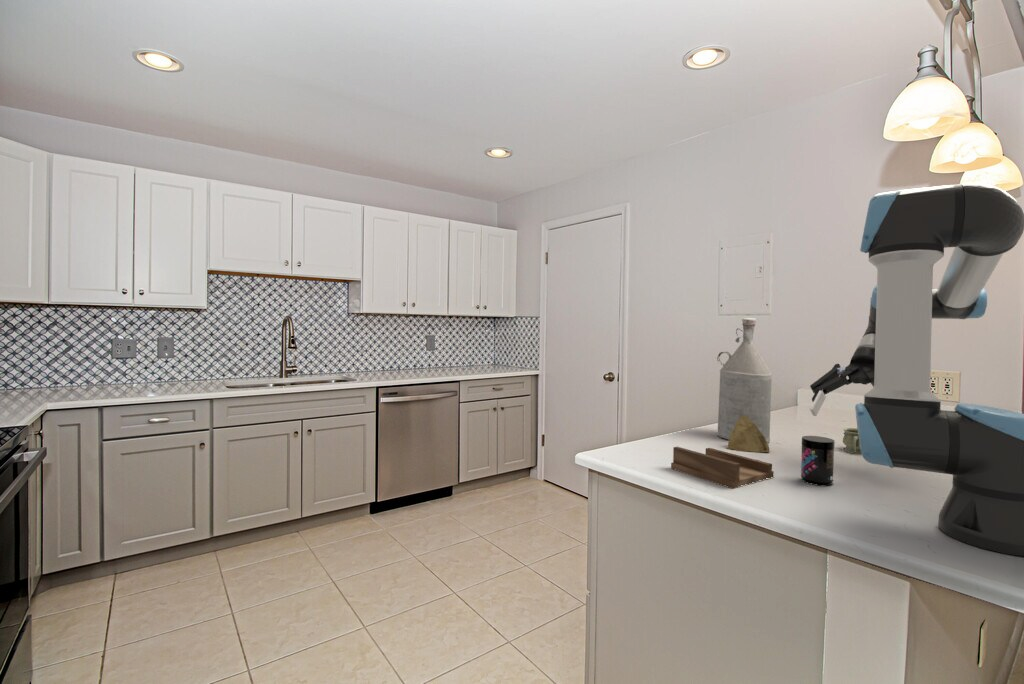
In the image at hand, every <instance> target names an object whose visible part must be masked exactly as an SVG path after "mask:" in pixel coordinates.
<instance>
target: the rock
mask: <svg viewBox="0 0 1024 684" xmlns="http://www.w3.org/2000/svg"><path fill="white" fill-rule="evenodd" d="M726 449H727V450H735V451H741V452H752V453H753V452H755V453H759V452H760V453H770V451H771V450H770V446H769V442H768V443H767V441H766V439H765V437H764V436H763V434H762V433H761V432H760V431H759V429H758V428H757V427H756V425H755V424H754V423H753V422H752V421H751V420H750V419H749V418H747V417H745V416H744V417H743V416H740V418H739V420H738V421H737V423H736V425H735V428H734V430H733V432H732V434H731V436H730V440H729V441H728V444H727V447H726Z"/></svg>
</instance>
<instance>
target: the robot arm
mask: <svg viewBox="0 0 1024 684" xmlns="http://www.w3.org/2000/svg"><path fill="white" fill-rule="evenodd" d="M865 218H866V219H865V222H864V226H863V234H862V238H861V244H860V248H859V251H860V252H861V253H864V254H868V262H869V263H870V264H872V265H873V266H874V267H875V268H876V269H877V271H876V272H877V273H876V274H877V275H876V277H877V278H876V285H875V286H874V288H873V290H872V294H871V297H870V301H869V302H870V306H869V307H870V308H869V315H868V322H867V323H868V324H867V327H866V329H865V331H864V334H863V336H862V337H861V339H860V341H859V342H858V345H857V347H856V348H855V351H854V352H853V355H852V356H851V358H850V362H849V364H848V365H847V366H841V365H840V364H839V363H835V364H834V366H833V367H831V369H830V370H829V371H828V372H826V373H825V374H824V375H822V376H821V377H820V378H818V379H817V380H816V381H814V382H813V383H811V384H810V385H809V388H810V389H811V390H812V392H813V396H812V397H811V402H812V404H811V405H810V408H809V411H810V412H811V415H812V416H814V417H817V415H818V414H819V413H820V412H819V411H820V410H821V408H822V406H823V404H824V402H825V401H826V398H827V397H826V395H827V394H829V393H832V392H833V391H835V390H837V389H839V388H841V387H844V386H845V385H846V386H848V385H850V384H861V385H868V384H870V385H872V388H871V389H870V390H869V391H867V392H866V393H865V394H864V397H863V398H864V399H863V401H864V402H860V403H856V405H855V407H854V408H855V419H856V426H857V427H856V428H857V429H858V436H859V443H860V449H861V454H862V455H861V454H860V455H861V456H862V458H863V459H864V460H865V461H866V462H867V463H870V464H872V465H879V466H884V467H889V468H891V469H894V468H898V469H908V470H913V471H921V472H922V471H923V472H929V473H936V474H944V475H952V485H951V489H950V492H949V494H948V496H947V498H946V499H945V501H944V503H943V506H942V507H941V509H940V511H939V514H938V518H937V519H938V523H937V524H938V525H937V527H938V528H939V529H940V531H942V532H943V533H944V534H946V535H948V536H949V537H951V538H953V539H956V540H958V541H959V542H963V543H965V544H969V545H972V546H975V547H978V548H980V549H984V550H985V549H986V550H989V551H992V552H996V553H997V552H998V553H1002V554H1006V555H1007V554H1008V555H1013V556H1020V557H1024V413H1022V412H1018V411H1013V410H1009V409H1008V410H1007V409H1003V408H999V407H998V408H997V407H993V406H987V405H982V404H981V405H979V404H976V403H975V404H974V403H964V402H963V403H956V406H954V408H953V409H954V411H953V410H944V409H941V399H940V398H939V397H937V395H935V394H934V393H933V392H932V390H931V371H932V370H931V368H932V367H931V366H932V365H931V364H932V363H931V362H932V361H931V359H932V323H933V321H932V319H935V320H937V319H938V320H939V319H941V320H942V319H945V320H946V319H949V320H952V319H954V320H966V319H979V318H982V317H983V316H984V315H985V314H986V309H987V306H988V293H987V291H986V289H985V288H984V287H985V286H986V284H987V282H988V281H989V279H990V277H991V276H992V274H993V272H994V271H995V269H996V267H997V265H998V263H999V262H1000V260H1001V259H1002V256H1003V254H1006V253H1007V252H1009V251H1011V250H1012V249H1014V247H1015V246H1016V245H1017V243H1019V240H1020V239H1021V237H1022V236H1023V233H1024V211H1023V209H1022V206H1021V205H1020V204H1019V201H1017V200H1016V199H1015V198H1014V197H1013V196H1012V195H1011V194H1009V193H1008V192H1007V191H1005V190H1004V189H1001V188H999V187H997V186H995V185H991V184H987V183H983V182H982V183H981V182H963V183H958V184H949V185H947V184H946V185H937V186H936V185H935V186H927V187H918V188H916V187H915V188H909V189H908V188H907V189H897V190H893V191H886V192H880V193H877V194H875V195H874V196H872V197H871V198H870V200H869V202H868V207H867V213H866V217H865ZM945 248H954V249H953V251H952V253H951V256H950V258H949V260H948V263H947V265H946V268H945V270H944V273H943V275H942V278H941V280H940V282H939V285H938V287H936V288H935V287H934V288H933V284H934V283H933V280H934V278H933V276H934V273H933V272H934V265H935V264H936V263H938V262H939V261H940V260H941V259H942V258H944V256H945Z"/></svg>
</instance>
